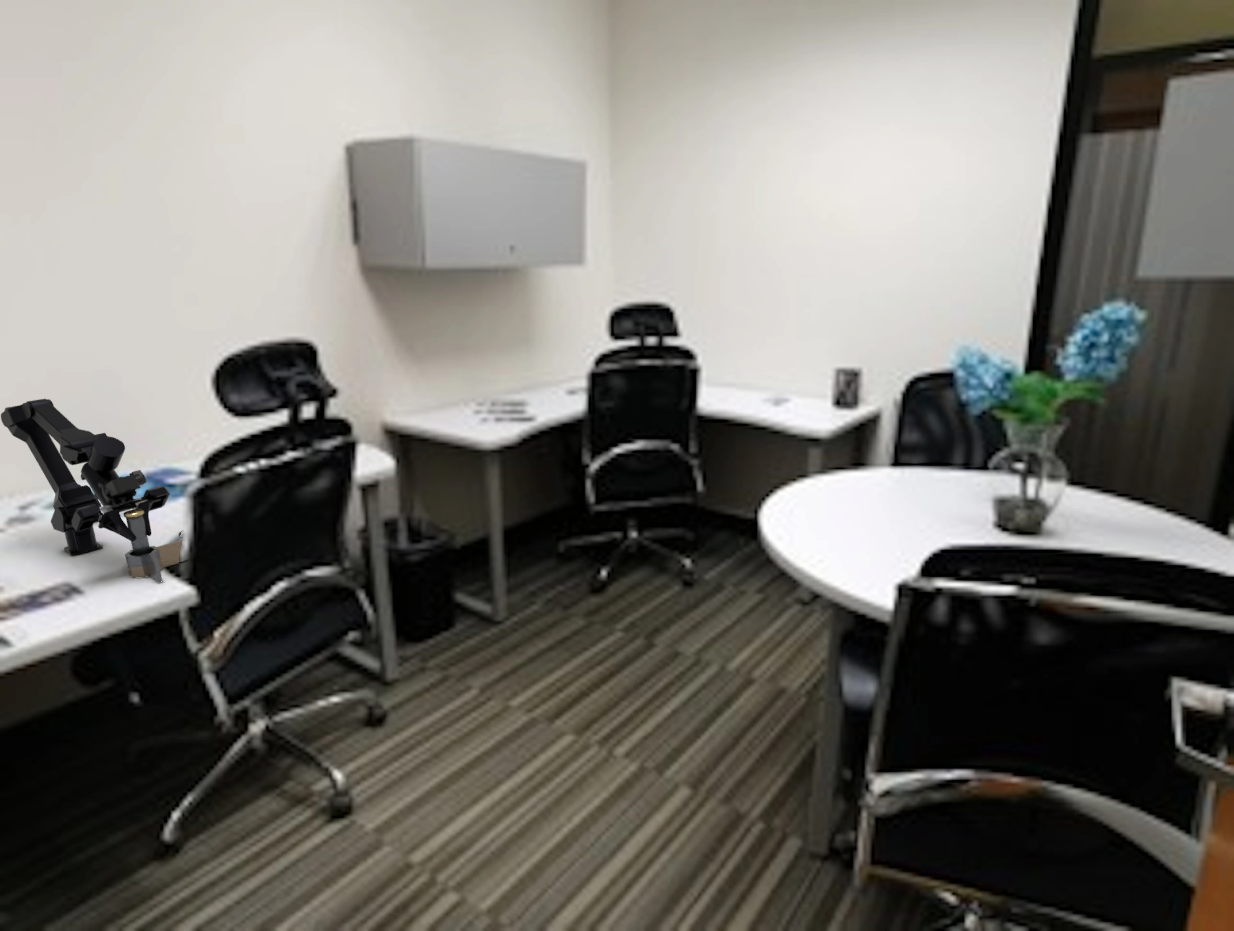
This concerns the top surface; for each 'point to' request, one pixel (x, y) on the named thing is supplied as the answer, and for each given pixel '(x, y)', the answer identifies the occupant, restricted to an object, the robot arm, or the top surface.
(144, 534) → the hinge pin
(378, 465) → the top surface
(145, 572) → the bronze hinge
